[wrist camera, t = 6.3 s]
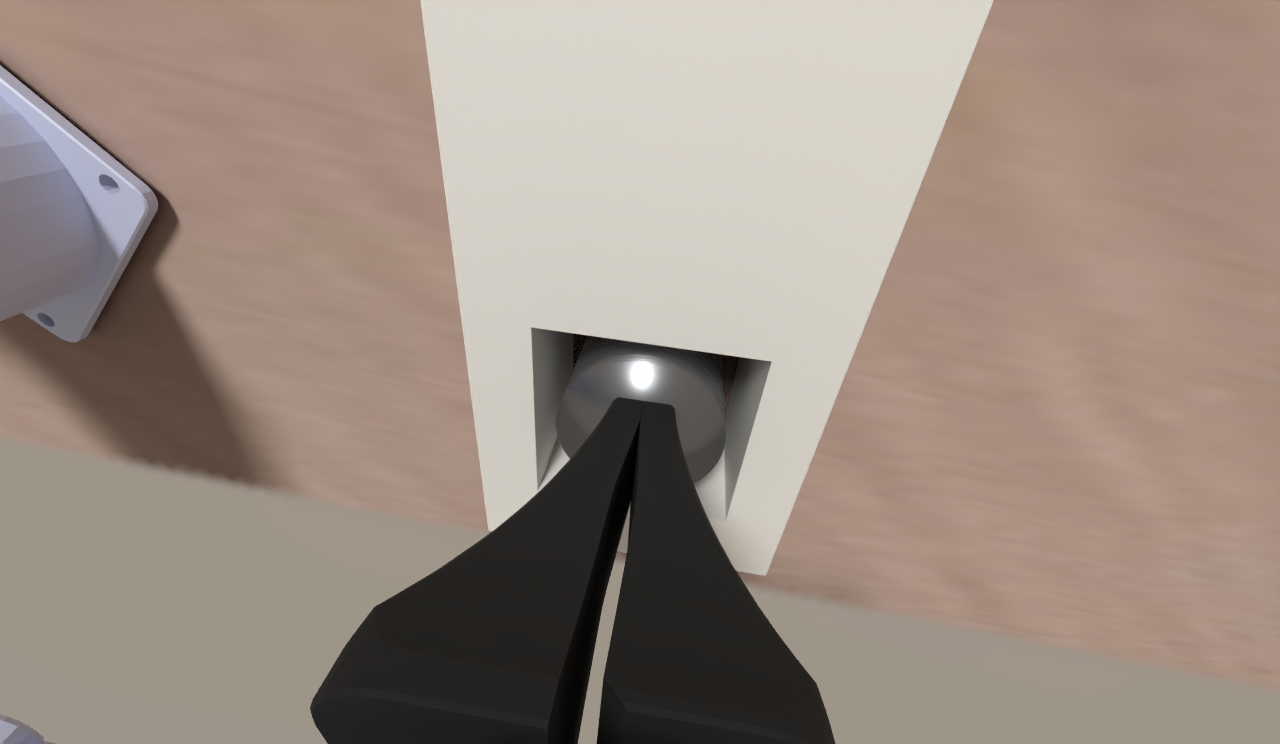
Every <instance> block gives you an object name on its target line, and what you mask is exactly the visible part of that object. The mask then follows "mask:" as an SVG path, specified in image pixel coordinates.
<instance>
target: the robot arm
mask: <svg viewBox="0 0 1280 744" xmlns="http://www.w3.org/2000/svg"><path fill="white" fill-rule="evenodd" d="M157 210H158V201H157V197H156V196H155V194H154V193H153V191H152V190H151V189H150V188H149V187H148V186H147V185H146V184H145V183H143V182H142V181H141V180H140V179H139V178H137V177H136V176H135V175H134V174H132V173H131V172H130V171H129V170H128V169H126V168H125V167H124V166H123V165H121V164H120V163H119V162H118V161H117V160H115V159H114V158H113V157H112V156H111V155H109V154H108V153H107V152H106V151H104V150H103V149H102V148H101V147H100V146H98V145H97V144H96V143H95V142H93V141H92V140H91V139H90V138H89V137H87V136H86V135H85V134H84V133H82V132H81V131H80V130H79V129H78V128H76V127H75V126H74V125H73V124H71V123H70V122H69V121H68V120H67V119H65V118H64V117H63V116H62V115H60V114H59V113H58V112H57V111H56V110H54V109H53V108H52V107H51V106H49V105H48V104H47V103H46V102H45V101H43V100H42V99H41V98H40V97H39V96H37V95H36V94H35V93H34V92H32V91H31V90H30V89H29V88H28V87H26V86H25V85H24V84H23V83H21V82H20V81H19V80H18V79H17V78H15V77H14V76H13V75H12V74H10V73H9V72H8V71H7V70H6V69H4V68H3V67H2V66H1V65H0V322H1V321H3V320H6V319H8V318H11V317H13V316H16V315H18V314H20V313H23V314H24V315H26V316H27V317H29V318H30V319H32V320H33V321H35V322H36V323H38V324H39V325H41V326H42V327H44V328H45V329H47V330H48V331H50V332H51V333H53V334H54V335H56V336H57V337H59V338H61V339H62V340H64V341H68V342H78V341H80V340H82V339H84V338H86V337H87V336H88V335H89V333H90V331H91V330H92V328H93V326H94V324H95V322H96V321H97V319H98V317H99V315H100V313H101V311H102V310H103V308H104V306H105V304H106V302H107V301H108V299H109V297H110V295H111V293H112V292H113V290H114V288H115V286H116V284H117V283H118V281H119V279H120V277H121V275H122V273H123V272H124V270H125V268H126V266H127V264H128V263H129V261H130V259H131V257H132V255H133V254H134V252H135V250H136V248H137V246H138V245H139V243H140V241H141V239H142V237H143V236H144V234H145V232H146V230H147V228H148V226H149V225H150V223H151V221H152V219H153V217H154V216H155V214H156V212H157ZM630 502H631V505H630ZM629 506H630V519H629V533H628V547H627V556H626V561H625V567H624V573H623V578H622V584H621V588H620V594H619V600H618V605H617V610H616V616H615V621H614V626H613V631H612V636H611V641H610V647H609V652H608V657H607V662H606V668H605V673H604V678H603V688H602V698H601V708H600V717H599V727H598V736H597V744H835V741H834V737H833V733H832V730H831V726H830V723H829V719H828V716H827V713H826V709H825V707H824V704H823V701H822V698H821V696H820V692H819V689H818V687H817V684H816V682H815V681H814V680H813V679H812V677H811V676H810V675H809V674H808V672H807V671H806V670H805V669H804V667H803V666H802V665H801V664H800V663H799V661H798V660H797V659H796V657H795V656H794V655H793V653H792V652H791V651H790V649H789V648H788V647H787V645H786V644H785V643H784V642H783V640H782V639H781V638H780V636H779V635H778V634H777V632H776V631H775V629H774V628H773V627H772V625H771V624H770V622H769V621H768V619H767V618H766V617H765V615H764V614H763V612H762V611H761V609H760V608H759V607H758V605H757V603H756V602H755V600H754V599H753V597H752V595H751V594H750V593H749V591H748V589H747V588H746V586H745V584H744V583H743V581H742V580H741V578H740V576H739V575H738V573H737V572H736V570H735V568H734V567H733V565H732V563H731V562H730V560H729V558H728V556H727V554H726V553H725V551H724V549H723V547H722V545H721V543H720V542H719V540H718V538H717V536H716V534H715V532H714V530H713V528H712V526H711V524H710V521H709V519H708V517H707V515H706V513H705V510H704V508H703V506H702V504H701V501H700V499H699V496H698V494H697V491H696V489H695V486H694V483H693V481H692V478H691V475H690V472H689V469H688V466H687V463H686V460H685V457H684V454H683V450H682V447H681V443H680V438H679V434H678V429H677V424H676V416H675V409H674V408H673V406H672V405H669V404H662V403H655V402H648V401H645V402H644V401H641V400H634V399H628V398H621V397H618V398H616V399H615V400H613V402H612V403H611V405H610V407H609V409H608V410H607V412H606V414H605V415H604V417H603V418H602V420H601V421H600V422H599V424H598V425H597V426H596V428H595V429H594V431H593V432H592V433H591V435H590V436H589V437H588V438H587V440H586V441H585V442H584V443H583V444H582V446H581V447H580V448H579V449H578V451H577V452H576V453H575V454H574V455H573V457H572V458H571V459H570V460H569V461H568V462H567V463H566V464H565V465H564V466H563V467H562V468H561V470H560V471H559V472H558V473H557V474H556V475H555V476H554V477H553V478H552V479H551V480H550V481H549V482H548V483H547V484H546V485H545V486H544V487H543V488H542V489H541V490H540V491H539V492H538V493H537V494H536V495H535V496H534V497H533V498H531V499H530V500H529V501H528V502H527V503H526V504H525V505H524V506H523V507H521V508H520V509H519V510H518V511H517V512H516V513H514V514H513V515H512V516H511V517H509V518H508V519H507V520H506V521H505V522H503V523H502V524H501V525H500V526H498V527H497V528H496V529H495V530H493V531H492V532H491V533H490V534H488V535H487V536H486V537H484V538H483V539H482V540H480V541H479V542H477V543H476V544H474V545H473V546H472V547H470V548H469V549H467V550H466V551H464V552H463V553H462V554H460V555H458V556H457V557H456V558H454V559H453V560H452V561H450V562H448V563H447V564H445V565H444V566H443V567H441V568H439V569H438V570H436V571H435V572H433V573H432V574H430V575H428V576H427V577H425V578H423V579H422V580H420V581H418V582H417V583H415V584H413V585H411V586H410V587H408V588H406V589H405V590H403V591H401V592H400V593H398V594H396V595H395V596H393V597H391V598H389V599H388V600H386V601H384V602H382V603H381V604H379V605H377V606H375V607H374V608H373V610H372V611H371V612H370V614H369V615H368V617H366V619H365V620H364V622H363V623H362V624H361V625H360V627H359V628H358V629H357V631H356V632H355V633H354V635H353V636H352V638H351V639H350V640H349V641H348V643H347V644H346V645H345V647H344V649H343V650H342V652H341V654H340V655H339V657H338V658H337V660H336V662H335V663H334V665H333V667H332V668H331V670H330V672H329V674H328V675H327V677H326V679H325V680H324V682H323V683H322V685H321V687H320V688H319V690H318V692H317V693H316V695H315V697H314V698H313V701H312V704H311V707H310V709H311V714H312V717H313V719H314V722H315V725H316V727H317V728H318V730H319V731H320V733H321V734H322V736H323V737H324V738H325V740H326V742H327V743H328V744H578V738H579V732H580V727H581V721H582V715H583V710H584V704H585V698H586V693H587V687H588V681H589V676H590V670H591V665H592V659H593V654H594V649H595V643H596V638H597V632H598V626H599V622H600V616H601V611H602V606H603V602H604V598H605V593H606V589H607V585H608V581H609V578H610V575H611V571H612V568H613V564H614V560H615V557H616V553H617V550H618V546H619V542H620V539H621V535H622V532H623V528H624V524H625V521H626V517H627V514H628V510H629ZM0 744H56V743H50V742H45V741H44V739H43V736H42V735H40V734H39V733H38V732H37V731H35V730H34V729H33V728H31V727H30V726H28V725H25V724H24V723H22V722H20V721H18V720H15V719H13V718H10V717H7V716H3V715H0Z"/></svg>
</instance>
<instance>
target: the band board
mask: <svg viewBox="0 0 1280 744" xmlns="http://www.w3.org/2000/svg"><path fill="white" fill-rule="evenodd" d="M993 1H994V0H421V8H422V16H423V24H424V32H425V39H426V47H427V55H428V63H429V71H430V78H431V86H432V94H433V102H434V109H435V117H436V125H437V133H438V141H439V148H440V156H441V164H442V172H443V180H444V187H445V195H446V203H447V211H448V219H449V226H450V234H451V242H452V250H453V258H454V265H455V273H456V281H457V289H458V297H459V304H460V312H461V320H462V328H463V336H464V343H465V351H466V359H467V367H468V374H469V382H470V390H471V398H472V406H473V413H474V421H475V429H476V437H477V445H478V452H479V460H480V468H481V476H482V484H483V491H484V499H485V507H486V515H487V523H488V530H489V531H493V530H495V529H496V528H497V527H498V526H500V525H501V524H502V523H503V522H505V521H506V520H507V519H508V518H509V517H511V516H512V515H513V514H514V513H516V512H517V511H518V510H519V509H520V508H521V507H523V506H524V505H525V504H526V503H527V502H528V501H529V500H530V499H531V498H533V497H534V496H535V495H536V494H537V493H538V492H539V491H540V490H541V489H542V488H543V487H544V486H545V485H546V484H547V483H548V482H549V481H550V480H551V479H552V478H553V477H554V476H555V475H556V474H557V473H558V472H559V471H560V470H561V468H562V467H563V466H564V465H565V464H566V463H567V462H568V461H569V460H570V458H569V457H568V456H567V454H566V453H565V451H564V449H563V448H562V446H561V443H560V441H559V439H558V435H557V431H556V413H557V409H558V405H559V403H560V400H561V398H562V395H563V393H564V391H565V388H566V386H567V383H568V381H569V379H570V376H571V374H572V372H573V348H574V334H581V335H588V336H595V337H602V338H609V339H616V340H624V341H631V342H638V343H645V344H652V345H659V346H666V347H673V348H680V349H687V350H694V351H701V352H708V353H715V354H722V355H729V356H736V357H739V361H738V365H737V369H736V373H735V377H734V381H733V385H732V389H731V394H730V398H729V402H728V406H727V410H726V414H725V425H726V441H725V447H724V450H723V453H722V456H721V458H720V459H719V461H718V463H717V464H716V466H715V467H714V468H713V469H712V470H711V471H710V472H709V473H708V474H707V475H706V476H705V477H704V478H702V479H701V480H699V481H698V482H696V483H694V486H695V489H696V491H697V494H698V496H699V499H700V501H701V504H702V506H703V508H704V510H705V513H706V515H707V517H708V519H709V521H710V524H711V526H712V528H713V530H714V532H715V534H716V536H717V538H718V540H719V542H720V543H721V545H722V547H723V549H724V551H725V553H726V554H727V556H728V558H729V560H730V562H731V563H732V565H733V567H734V568H735V570H736V571H739V572H745V573H751V574H758V575H764V576H766V574H767V571H768V568H769V566H770V563H771V561H772V558H773V556H774V553H775V551H776V548H777V546H778V543H779V541H780V538H781V536H782V533H783V531H784V528H785V526H786V523H787V521H788V518H789V515H790V513H791V510H792V508H793V505H794V503H795V500H796V498H797V495H798V493H799V490H800V488H801V485H802V483H803V480H804V478H805V475H806V473H807V470H808V468H809V465H810V462H811V460H812V457H813V455H814V452H815V450H816V447H817V445H818V442H819V440H820V437H821V435H822V432H823V430H824V427H825V425H826V422H827V420H828V417H829V415H830V412H831V409H832V407H833V404H834V402H835V399H836V397H837V394H838V392H839V389H840V387H841V384H842V382H843V379H844V377H845V374H846V372H847V369H848V367H849V364H850V362H851V359H852V356H853V354H854V351H855V349H856V346H857V344H858V341H859V339H860V336H861V334H862V331H863V329H864V326H865V324H866V321H867V319H868V316H869V314H870V311H871V309H872V306H873V303H874V301H875V298H876V296H877V293H878V291H879V288H880V286H881V283H882V281H883V278H884V276H885V273H886V271H887V268H888V266H889V263H890V261H891V258H892V256H893V253H894V250H895V248H896V245H897V243H898V240H899V238H900V235H901V233H902V230H903V228H904V225H905V223H906V220H907V218H908V215H909V213H910V210H911V208H912V205H913V203H914V200H915V197H916V195H917V192H918V190H919V187H920V185H921V182H922V180H923V177H924V175H925V172H926V170H927V167H928V165H929V162H930V160H931V157H932V155H933V152H934V150H935V147H936V144H937V142H938V139H939V137H940V134H941V132H942V129H943V127H944V124H945V122H946V119H947V117H948V114H949V112H950V109H951V107H952V104H953V102H954V99H955V97H956V94H957V91H958V89H959V86H960V84H961V81H962V79H963V76H964V74H965V71H966V69H967V66H968V64H969V61H970V59H971V56H972V54H973V51H974V49H975V46H976V44H977V41H978V38H979V36H980V33H981V31H982V28H983V26H984V23H985V21H986V18H987V16H988V13H989V11H990V8H991V6H992V3H993ZM630 505H631V502H630ZM629 519H630V506H629V510H628V514H627V517H626V521H625V524H624V528H623V532H622V535H621V539H620V542H619V546H618V550H617V552H623V553H627V547H628V533H629Z"/></svg>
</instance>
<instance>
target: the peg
mask: <svg viewBox="0 0 1280 744" xmlns="http://www.w3.org/2000/svg"><path fill="white" fill-rule="evenodd" d="M618 397H621V398H628V399H634V400H641V401H644V402H645V401H648V402H655V403H662V404H669V405H672V406H673V408H674V409H675V416H676V424H677V429H678V434H679V438H680V443H681V447H682V450H683V454H684V457H685V460H686V463H687V466H688V469H689V472H690V475H691V478H692V481H693V483H696V482H698V481H699V480H701V479H702V478H704V477H705V476H706V475H707V474H708V473H709V472H710V471H711V470H712V469H713V468H714V467H715V466H716V464H717V463H718V461H719V459H720V458H721V456H722V453H723V450H724V447H725V441H726V425H725V390H724V355H722V354H715V353H708V352H701V351H694V350H687V349H680V348H673V347H666V346H659V345H652V344H645V343H638V342H631V341H624V340H616V339H609V338H602V337H595V336H587V338H586V340H585V343H584V345H583V348H582V350H581V352H580V355H579V357H578V360H577V362H576V364H575V367H574V369H573V372H572V374H571V376H570V379H569V381H568V383H567V386H566V388H565V391H564V393H563V395H562V398H561V400H560V403H559V405H558V409H557V413H556V431H557V435H558V439H559V441H560V443H561V446H562V448H563V449H564V451H565V453H566V454H567V456H568V457H569V458H570V459H571V458H572V457H573V455H574V454H575V453H576V452H577V451H578V449H579V448H580V447H581V446H582V444H583V443H584V442H585V441H586V440H587V438H588V437H589V436H590V435H591V433H592V432H593V431H594V429H595V428H596V426H597V425H598V424H599V422H600V421H601V420H602V418H603V417H604V415H605V414H606V412H607V410H608V409H609V407H610V405H611V403H612V402H613V400H615V399H616V398H618Z"/></svg>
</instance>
